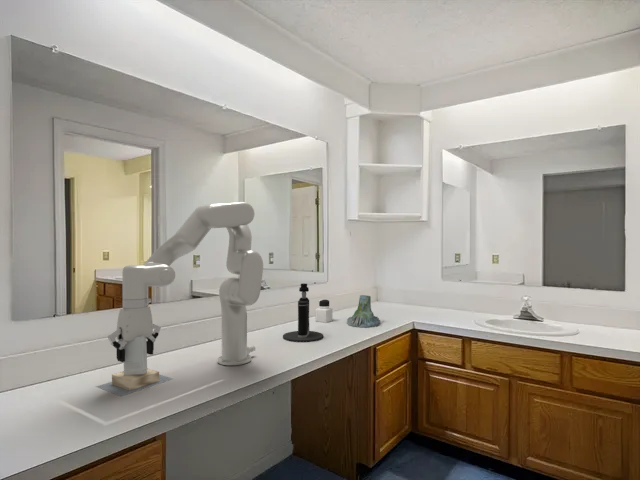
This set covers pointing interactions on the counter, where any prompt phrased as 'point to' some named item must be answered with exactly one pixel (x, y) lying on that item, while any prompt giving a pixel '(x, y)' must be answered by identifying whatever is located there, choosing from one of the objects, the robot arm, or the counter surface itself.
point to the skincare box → (135, 356)
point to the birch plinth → (135, 379)
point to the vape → (303, 322)
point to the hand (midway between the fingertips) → (135, 357)
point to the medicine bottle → (324, 312)
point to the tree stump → (363, 314)
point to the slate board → (122, 391)
